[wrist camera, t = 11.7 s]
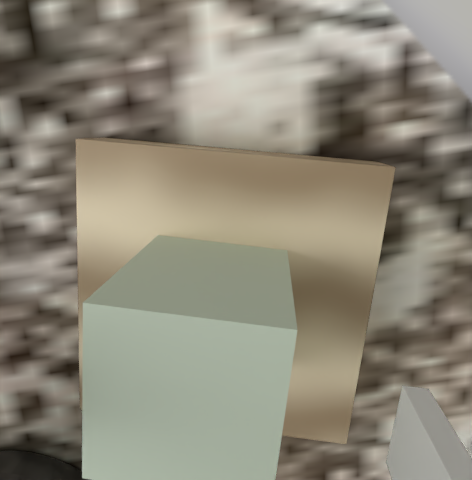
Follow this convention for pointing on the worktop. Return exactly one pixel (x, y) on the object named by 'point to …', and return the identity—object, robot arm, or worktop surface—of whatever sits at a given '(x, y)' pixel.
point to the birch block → (250, 243)
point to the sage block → (188, 364)
